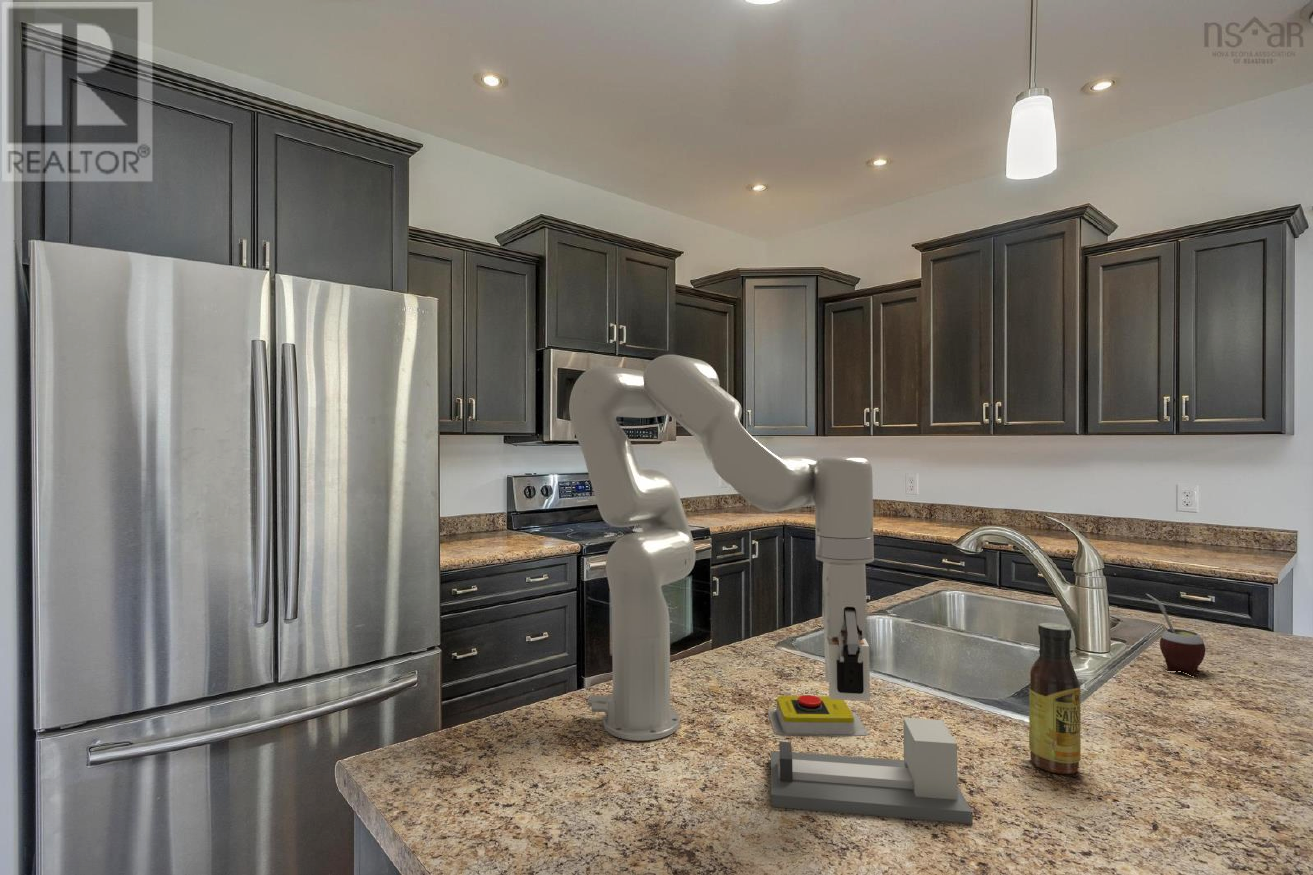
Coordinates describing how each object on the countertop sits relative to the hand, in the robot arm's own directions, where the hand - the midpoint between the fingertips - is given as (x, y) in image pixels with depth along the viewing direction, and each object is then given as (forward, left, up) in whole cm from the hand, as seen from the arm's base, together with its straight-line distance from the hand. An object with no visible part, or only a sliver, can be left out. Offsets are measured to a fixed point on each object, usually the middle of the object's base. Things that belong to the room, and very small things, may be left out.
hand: (846, 680), depth 86 cm
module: (0, 0, -1) cm, 1 cm away
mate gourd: (+71, +56, -15) cm, 92 cm away
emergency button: (-3, +20, -15) cm, 26 cm away
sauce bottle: (+30, +11, -15) cm, 35 cm away
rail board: (+2, 0, -14) cm, 15 cm away
